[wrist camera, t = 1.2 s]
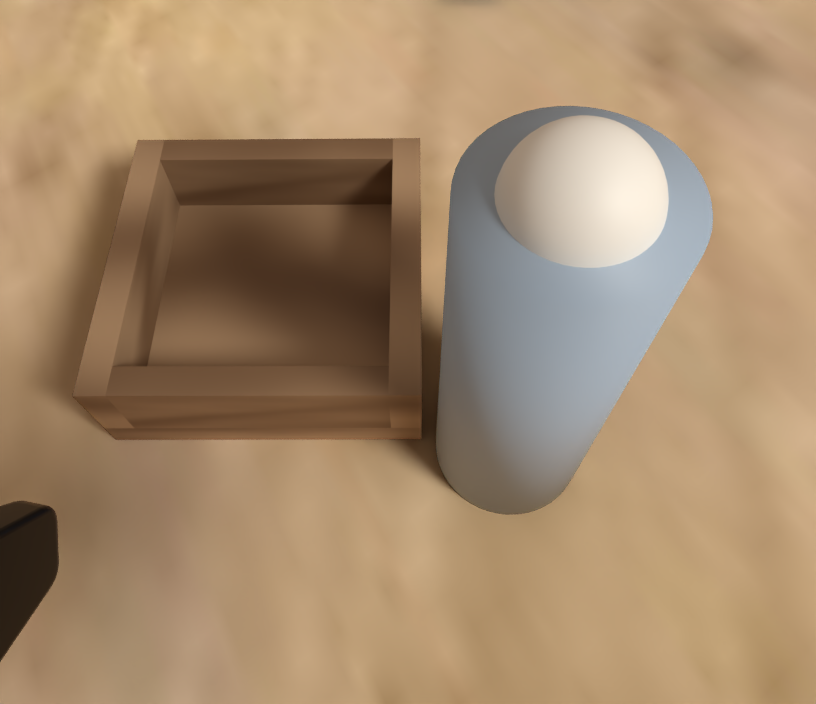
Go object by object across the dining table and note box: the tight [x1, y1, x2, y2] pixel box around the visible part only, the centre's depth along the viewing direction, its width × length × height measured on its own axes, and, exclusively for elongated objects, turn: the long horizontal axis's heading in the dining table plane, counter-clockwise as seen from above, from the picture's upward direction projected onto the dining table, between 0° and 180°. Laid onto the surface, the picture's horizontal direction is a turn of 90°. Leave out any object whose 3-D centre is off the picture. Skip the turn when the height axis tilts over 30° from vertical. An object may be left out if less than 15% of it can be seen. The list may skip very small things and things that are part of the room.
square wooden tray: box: [72, 138, 422, 440], centre depth 25 cm, size 10×10×4 cm
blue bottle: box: [436, 106, 713, 514], centre depth 18 cm, size 5×5×14 cm
